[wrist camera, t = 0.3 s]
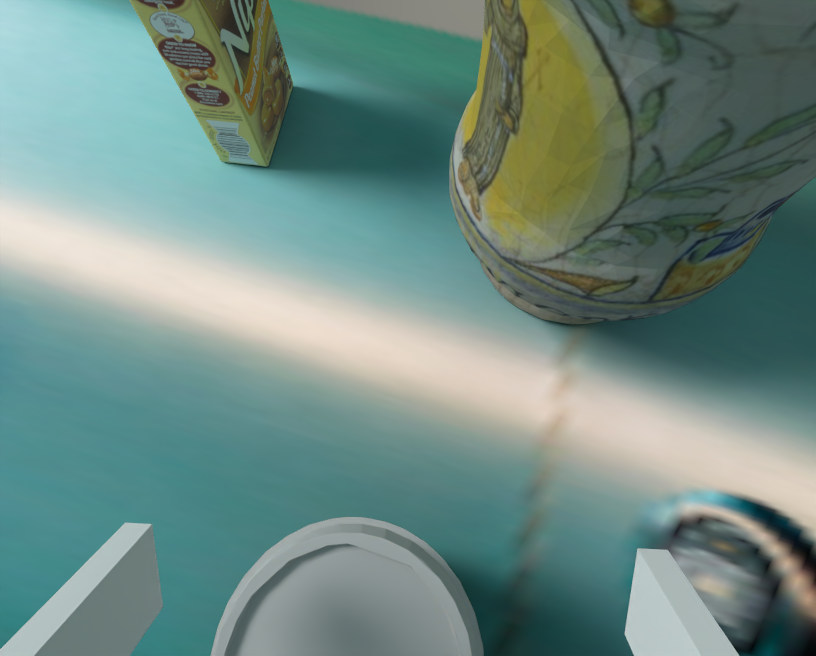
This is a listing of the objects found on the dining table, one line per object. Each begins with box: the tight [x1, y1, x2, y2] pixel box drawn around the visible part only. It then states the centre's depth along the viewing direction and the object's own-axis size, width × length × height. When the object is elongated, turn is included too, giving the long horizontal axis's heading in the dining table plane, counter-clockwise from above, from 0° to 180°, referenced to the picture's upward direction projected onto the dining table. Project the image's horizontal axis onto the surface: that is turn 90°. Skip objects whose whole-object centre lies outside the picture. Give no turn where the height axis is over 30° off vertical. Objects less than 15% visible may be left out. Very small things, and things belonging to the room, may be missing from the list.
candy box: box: [130, 0, 293, 166], centre depth 32 cm, size 9×4×15 cm, turn 172°
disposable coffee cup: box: [211, 517, 484, 656], centre depth 21 cm, size 10×10×12 cm
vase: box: [449, 0, 816, 324], centre depth 21 cm, size 18×18×30 cm
